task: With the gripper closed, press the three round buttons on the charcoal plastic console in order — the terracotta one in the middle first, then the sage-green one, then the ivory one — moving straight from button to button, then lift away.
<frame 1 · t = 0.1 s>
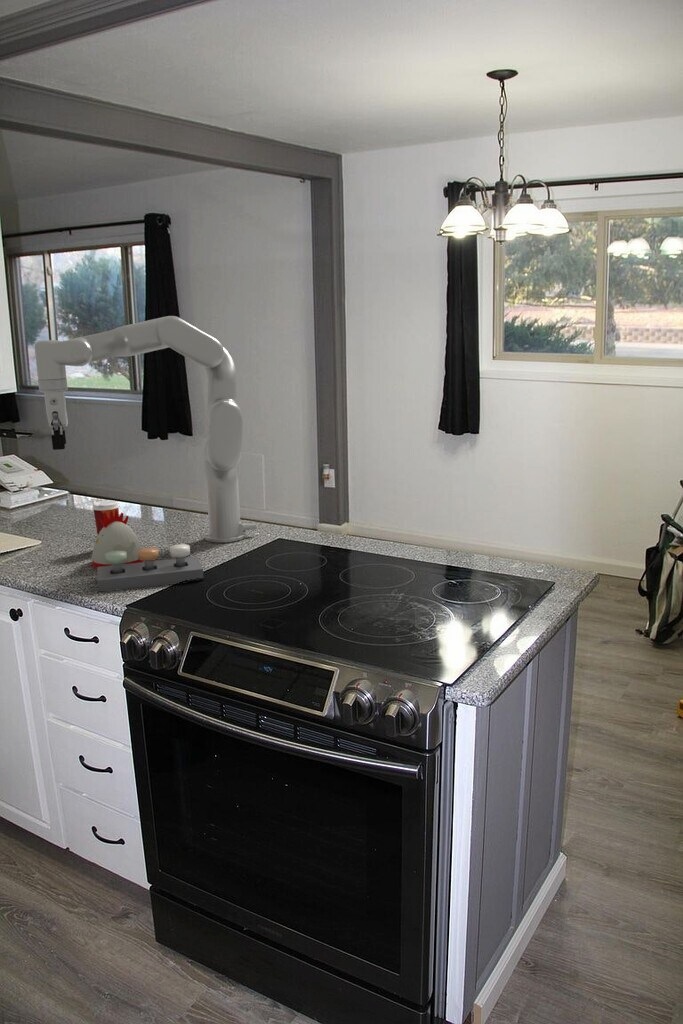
hand: (59, 446, 239), 31 cm above the worktop, tool pointing down, fingers open, 9 cm apart
button sage: (116, 562, 216), point 5 cm above the worktop, slide at 0.0 cm
button terracotta: (148, 559, 219), point 5 cm above the worktop, slide at 0.0 cm
console: (150, 579, 220), on the worktop
white rounded crested piece: (118, 563, 236), on the worktop
paper cup: (110, 549, 249), on the worktop
button ivory: (180, 556, 221), point 5 cm above the worktop, slide at 0.0 cm
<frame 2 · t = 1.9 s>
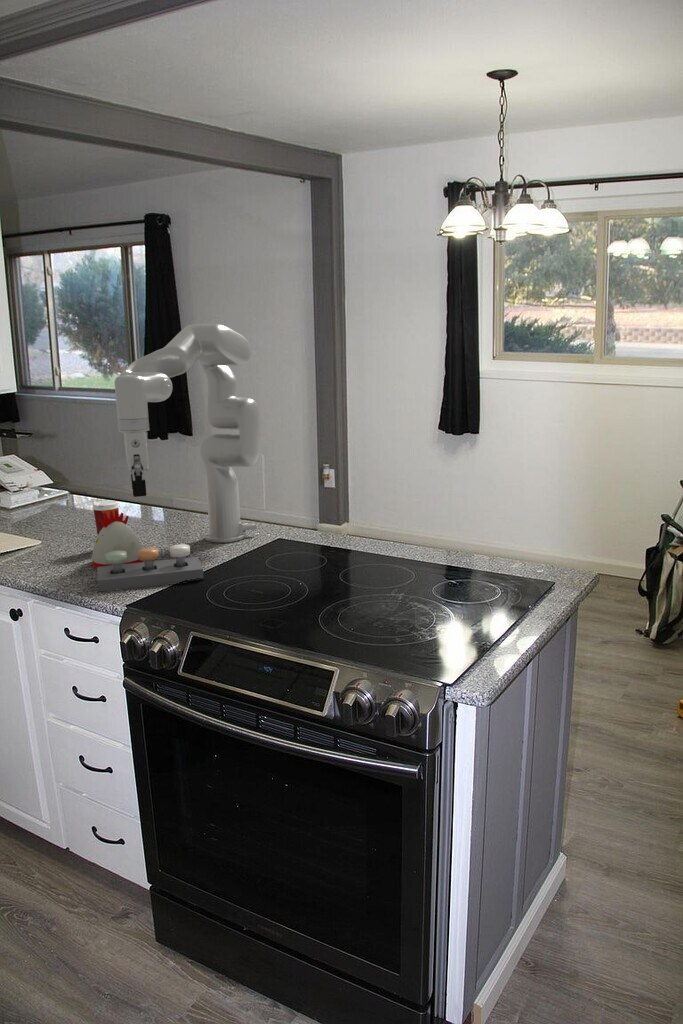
hand: (139, 492, 215), 23 cm above the worktop, tool pointing down, fingers open, 9 cm apart
nothing on the worktop moved.
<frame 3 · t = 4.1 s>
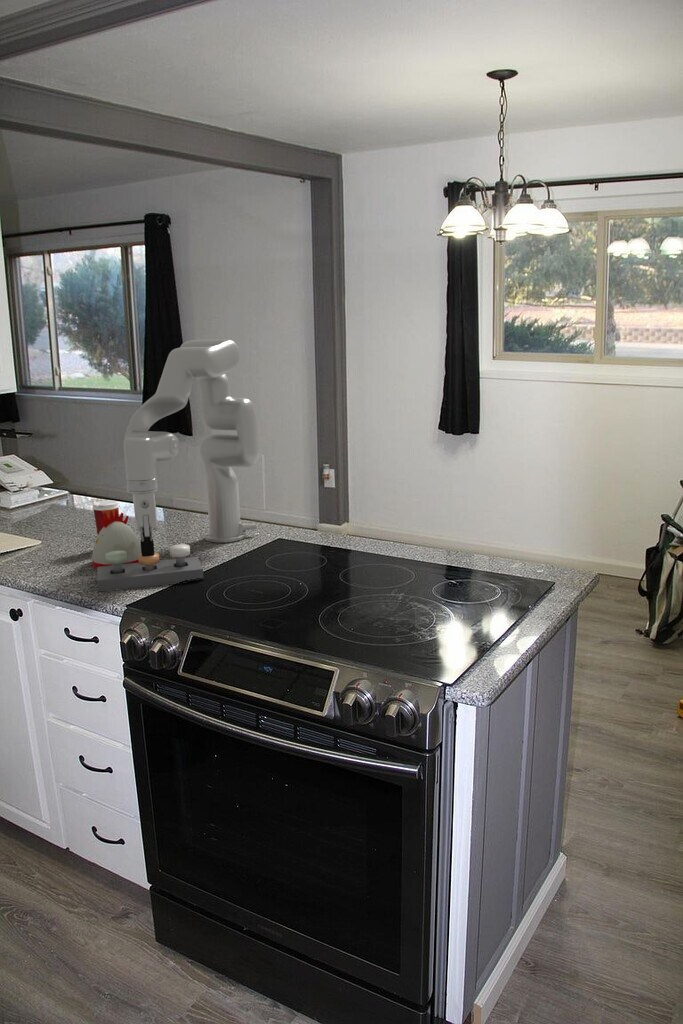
hand: (148, 555, 218), 7 cm above the worktop, tool pointing down, fingers closed
button terracotta: (149, 564, 219), point 4 cm above the worktop, slide at 1.3 cm, touching gripper
everything else where it was.
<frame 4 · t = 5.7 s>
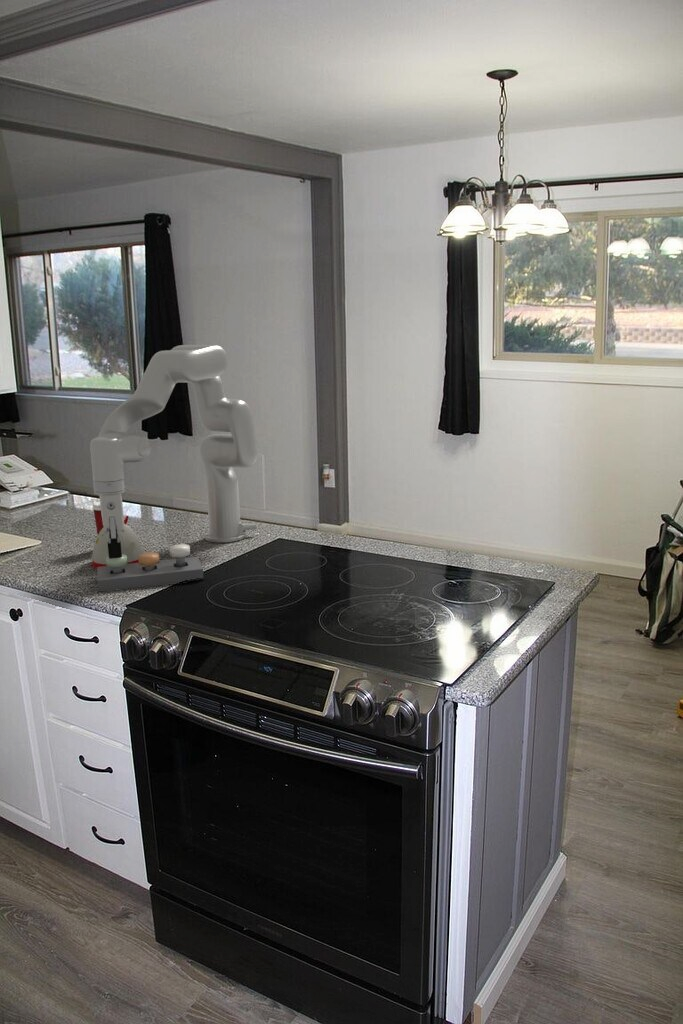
hand: (115, 557, 216), 7 cm above the worktop, tool pointing down, fingers closed
button sage: (117, 566, 217), point 4 cm above the worktop, slide at 1.0 cm, touching gripper
button terracotta: (149, 564, 219), point 4 cm above the worktop, slide at 1.4 cm
everything else where it was.
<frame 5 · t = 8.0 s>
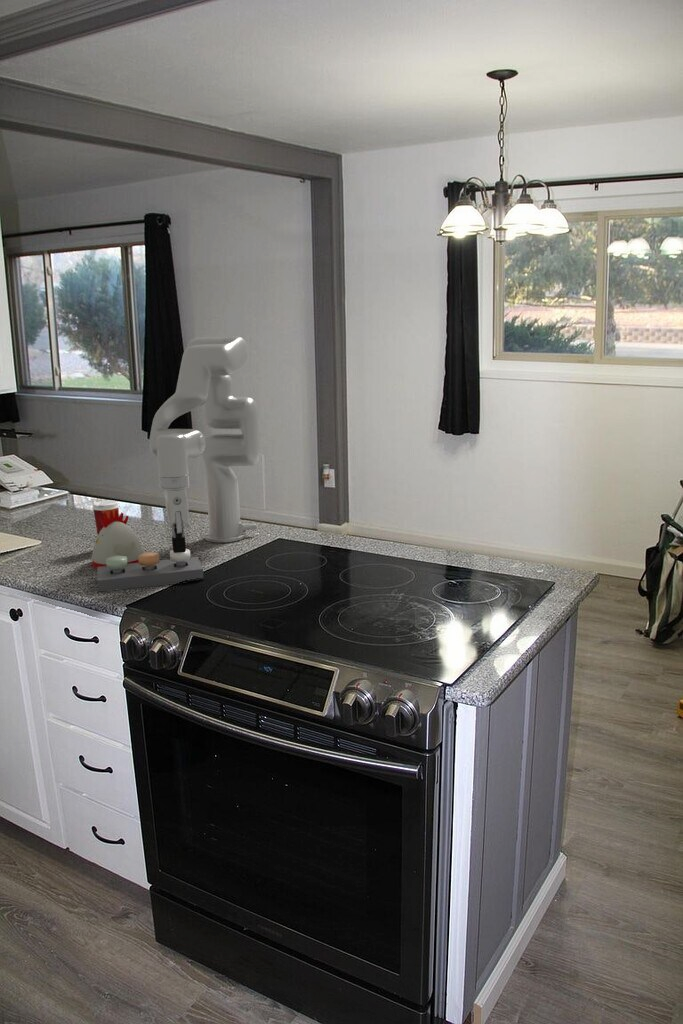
hand: (179, 551, 220), 7 cm above the worktop, tool pointing down, fingers closed
button sage: (117, 567, 217), point 4 cm above the worktop, slide at 1.4 cm
button ivory: (180, 560, 221), point 4 cm above the worktop, slide at 1.2 cm, touching gripper
everything else where it was.
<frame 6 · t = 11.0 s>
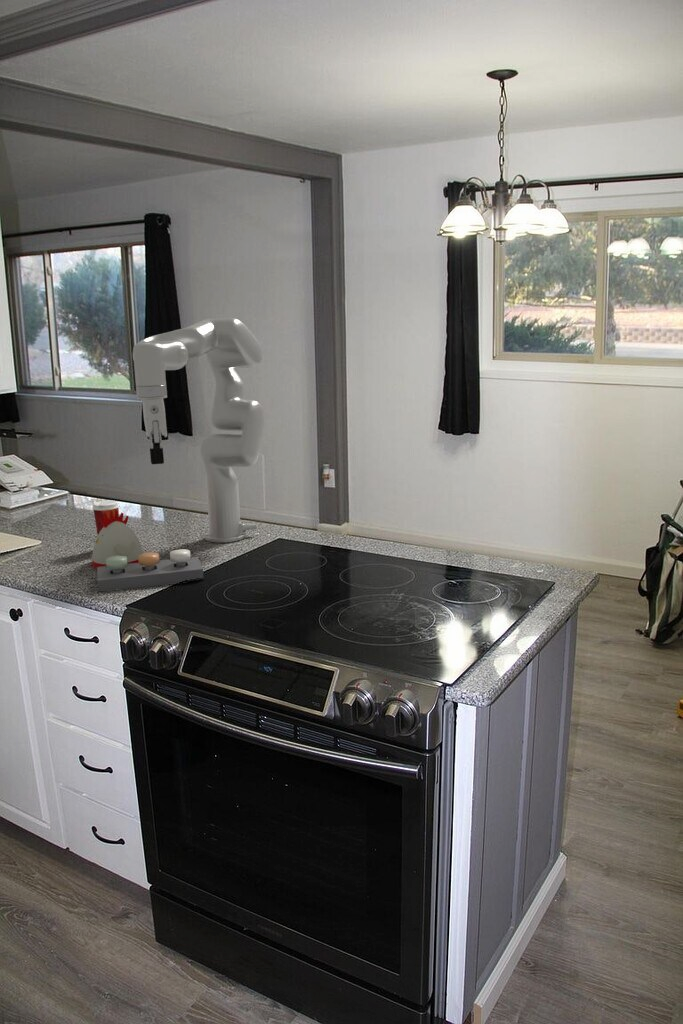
hand: (157, 463, 220), 29 cm above the worktop, tool pointing down, fingers closed
button ivory: (180, 561, 221), point 4 cm above the worktop, slide at 1.4 cm
everything else where it was.
at the end: button terracotta slide at 1.4 cm; button sage slide at 1.4 cm; button ivory slide at 1.4 cm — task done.
